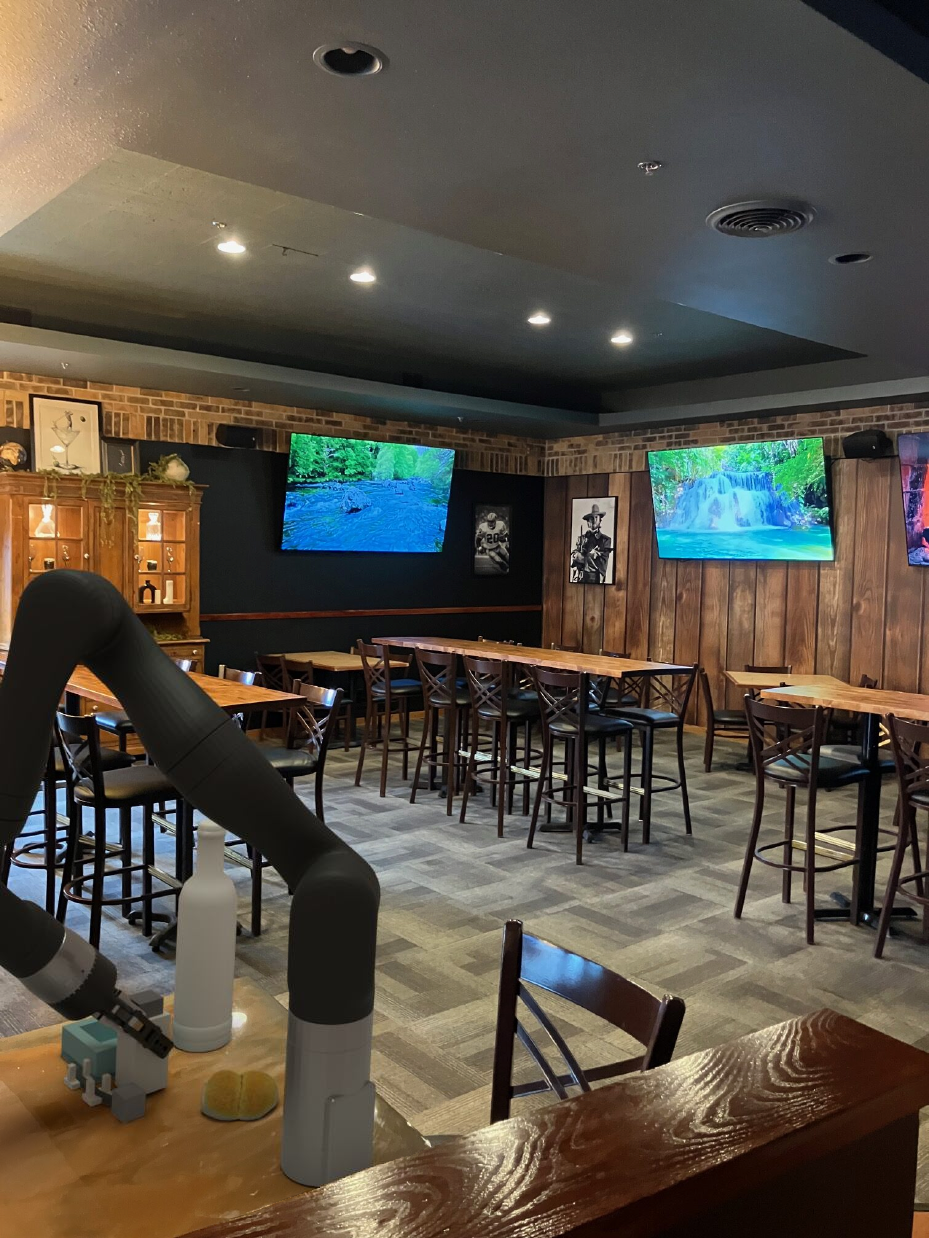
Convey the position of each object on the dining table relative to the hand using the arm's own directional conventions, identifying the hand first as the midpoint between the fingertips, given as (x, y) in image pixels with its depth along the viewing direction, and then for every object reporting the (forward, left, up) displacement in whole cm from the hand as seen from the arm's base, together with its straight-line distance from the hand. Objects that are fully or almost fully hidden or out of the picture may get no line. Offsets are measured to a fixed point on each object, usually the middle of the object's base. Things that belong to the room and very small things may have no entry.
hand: (156, 1043), depth 122 cm
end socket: (+9, +1, -5) cm, 10 cm away
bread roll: (-11, -5, -5) cm, 13 cm away
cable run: (+1, +7, -5) cm, 9 cm away
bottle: (+7, -11, -5) cm, 14 cm away
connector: (0, +2, -5) cm, 5 cm away
